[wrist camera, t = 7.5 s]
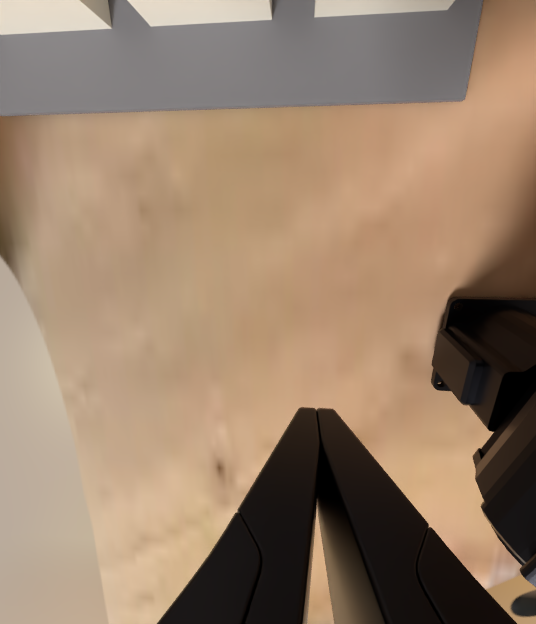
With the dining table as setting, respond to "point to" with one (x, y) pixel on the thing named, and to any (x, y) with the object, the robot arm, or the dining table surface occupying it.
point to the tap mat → (241, 62)
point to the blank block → (201, 11)
